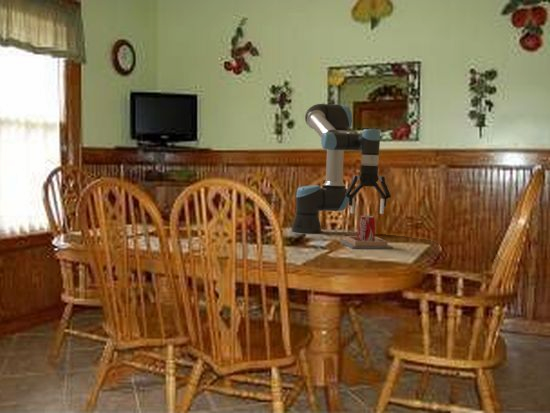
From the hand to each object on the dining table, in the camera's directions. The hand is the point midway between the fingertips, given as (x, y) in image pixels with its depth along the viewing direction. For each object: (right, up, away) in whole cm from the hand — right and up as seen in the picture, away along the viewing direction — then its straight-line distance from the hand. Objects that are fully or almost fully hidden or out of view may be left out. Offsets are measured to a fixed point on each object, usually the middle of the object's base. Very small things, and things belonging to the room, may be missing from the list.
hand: (366, 213), depth 254 cm
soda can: (0, -13, +1) cm, 13 cm away
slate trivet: (0, -14, +1) cm, 14 cm away
